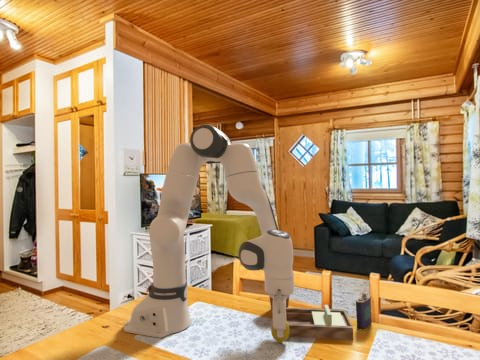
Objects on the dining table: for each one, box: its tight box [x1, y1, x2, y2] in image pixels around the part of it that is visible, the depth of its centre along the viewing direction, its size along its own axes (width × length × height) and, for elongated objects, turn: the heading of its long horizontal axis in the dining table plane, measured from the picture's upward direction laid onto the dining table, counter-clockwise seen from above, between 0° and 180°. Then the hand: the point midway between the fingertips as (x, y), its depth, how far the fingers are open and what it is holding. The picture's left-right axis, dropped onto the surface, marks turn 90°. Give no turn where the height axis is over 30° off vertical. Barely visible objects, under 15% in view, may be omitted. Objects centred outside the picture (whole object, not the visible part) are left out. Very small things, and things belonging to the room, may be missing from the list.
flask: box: [355, 292, 372, 331], centre depth 102 cm, size 9×3×11 cm, turn 138°
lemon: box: [270, 320, 290, 344], centre depth 91 cm, size 6×6×8 cm
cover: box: [312, 304, 346, 326], centre depth 100 cm, size 10×10×4 cm
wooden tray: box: [286, 307, 354, 341], centre depth 101 cm, size 22×14×4 cm, turn 82°
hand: (280, 330), depth 91 cm, fingers closed on lemon, 5 cm apart
